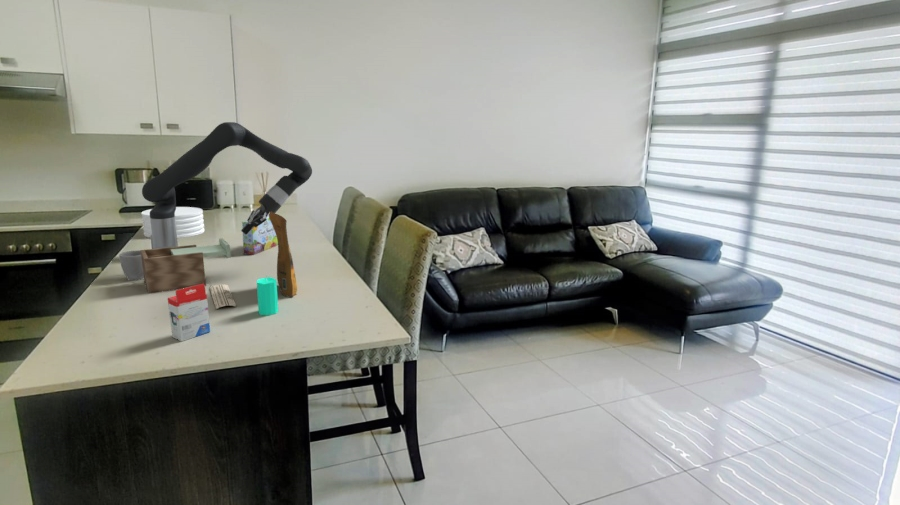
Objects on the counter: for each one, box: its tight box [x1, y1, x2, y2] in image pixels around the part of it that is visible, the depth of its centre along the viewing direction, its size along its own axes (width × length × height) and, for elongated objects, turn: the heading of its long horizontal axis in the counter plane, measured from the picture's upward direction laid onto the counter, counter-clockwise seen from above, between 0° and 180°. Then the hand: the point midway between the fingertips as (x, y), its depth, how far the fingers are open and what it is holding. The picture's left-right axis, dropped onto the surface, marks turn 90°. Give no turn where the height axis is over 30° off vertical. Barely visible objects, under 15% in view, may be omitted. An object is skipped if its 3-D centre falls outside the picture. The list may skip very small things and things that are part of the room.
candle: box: [256, 275, 279, 316], centre depth 157 cm, size 6×6×12 cm
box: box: [139, 244, 207, 294], centre depth 180 cm, size 18×14×12 cm
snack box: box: [241, 214, 278, 256], centre depth 232 cm, size 21×6×15 cm, turn 168°
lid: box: [170, 237, 231, 259], centre depth 184 cm, size 18×12×5 cm, turn 126°
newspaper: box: [209, 284, 237, 310], centre depth 170 cm, size 24×7×2 cm, turn 29°
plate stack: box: [141, 206, 205, 239], centre depth 261 cm, size 28×28×12 cm
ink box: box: [167, 284, 211, 342], centre depth 138 cm, size 8×5×15 cm, turn 145°
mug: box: [118, 250, 144, 281], centre depth 187 cm, size 12×9×10 cm
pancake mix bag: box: [268, 211, 298, 298], centre depth 175 cm, size 7×19×28 cm, turn 27°
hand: (243, 232), depth 192 cm, fingers closed
